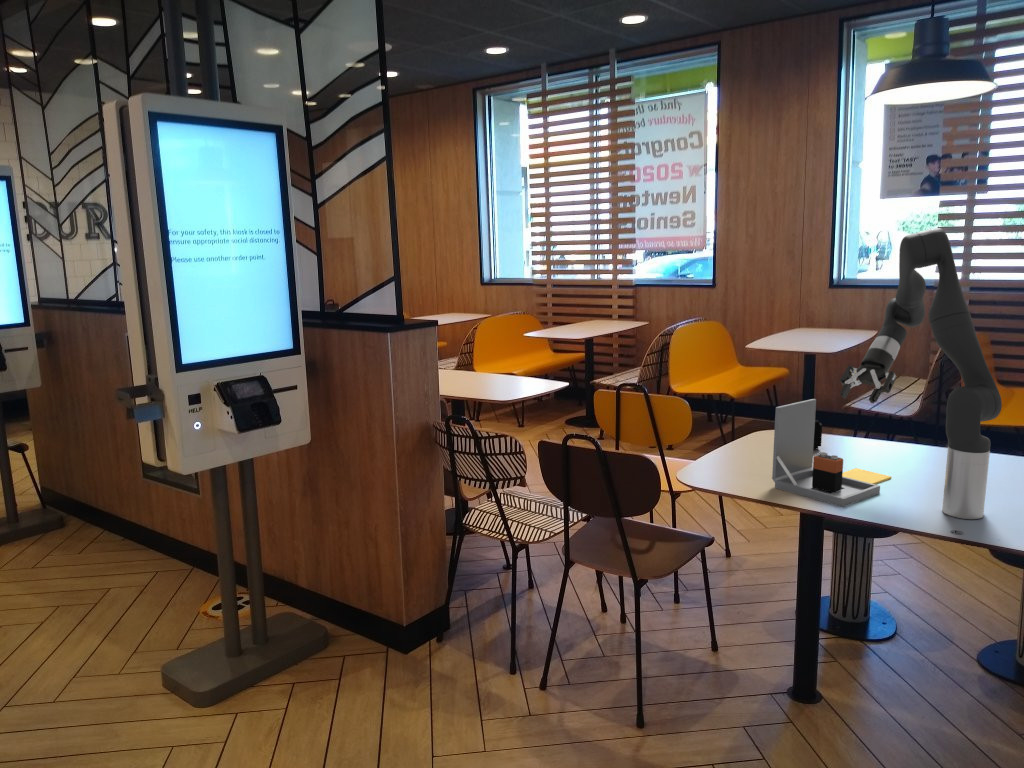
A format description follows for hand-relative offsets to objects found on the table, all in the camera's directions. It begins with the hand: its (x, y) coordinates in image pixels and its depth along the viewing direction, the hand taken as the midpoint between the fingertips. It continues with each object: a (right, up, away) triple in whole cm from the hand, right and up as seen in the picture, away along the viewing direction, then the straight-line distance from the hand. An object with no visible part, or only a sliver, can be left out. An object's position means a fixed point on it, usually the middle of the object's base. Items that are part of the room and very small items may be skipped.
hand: (856, 399), depth 226 cm
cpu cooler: (+1, -17, +41) cm, 45 cm away
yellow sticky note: (+6, -23, +8) cm, 25 cm away
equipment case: (-10, -26, -3) cm, 27 cm away
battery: (-10, -25, -3) cm, 27 cm away
